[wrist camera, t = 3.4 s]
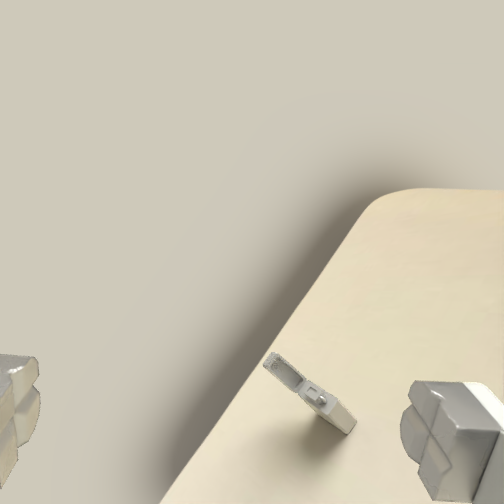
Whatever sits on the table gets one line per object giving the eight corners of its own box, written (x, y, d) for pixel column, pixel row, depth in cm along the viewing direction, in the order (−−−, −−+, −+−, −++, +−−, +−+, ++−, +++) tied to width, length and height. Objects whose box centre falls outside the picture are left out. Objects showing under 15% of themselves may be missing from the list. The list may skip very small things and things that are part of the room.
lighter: (357, 419, 40) (320, 379, 36) (347, 435, 39) (308, 396, 35) (307, 386, 46) (269, 347, 41) (297, 400, 45) (258, 362, 41)
